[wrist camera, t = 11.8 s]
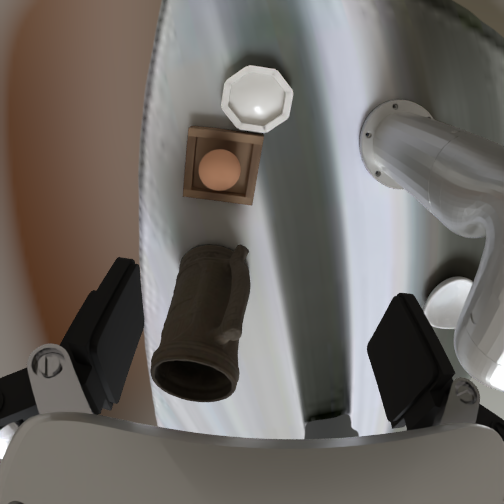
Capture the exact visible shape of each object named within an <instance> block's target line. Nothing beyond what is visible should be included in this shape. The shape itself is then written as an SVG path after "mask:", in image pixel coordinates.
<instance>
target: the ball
mask: <svg viewBox="0 0 504 504" xmlns="http://www.w3.org/2000/svg"><path fill="white" fill-rule="evenodd" d="M240 173H241V166H240V163H239V160H238V159H237V157H236V156H235V155H234V154H233V153H231V152H230V151H227V150H223V149H217V150H213V151H210V152H209V153H207V154H206V155H205V156H204V157H203V158H202V160H201V162H200V164H199V176H200V179H201V181H202V182H203V184H204V185H205V186H207V187H208V188H210V189H212V190H216V191H223V190H227V189H229V188H231V187H232V186H233V185H235V184H236V182H237V181H238V179H239V177H240Z"/></svg>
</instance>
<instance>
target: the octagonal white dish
mask: <svg viewBox="0 0 504 504" xmlns="http://www.w3.org/2000/svg"><path fill="white" fill-rule="evenodd" d="M292 91H293V90H292V89H291V87H290V86H289V85H288V83H287V82H286V81H285V79H284V78H283V77H282V75H281V74H280V73H279V71H278V70H277V71H276V69H271V68H265V67H259V66H252V65H249V67H248V66H246V67H244V68H243V69H241V70H240V71H239V72H237V73H236V74H234V75H233V76H231V77H230V78H229V79H227V80H226V82H224V89H223V96H222V103H221V107H223V108H222V110H223V111H224V113H225V114H226V115H227V116H228V118H229V119H230V120H231V121H232V123H233V124H234V125H235V126H236V128H239V130H247V131H254V132H260V133H265V132H266V133H267V132H268V131H270V130H271V129H273V128H274V127H276V126H277V125H279V124H280V123H282V122H284V121H285V120H287V119H288V118H287V117H289V114H290V109H291V103H292V98H293V92H292Z"/></svg>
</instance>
